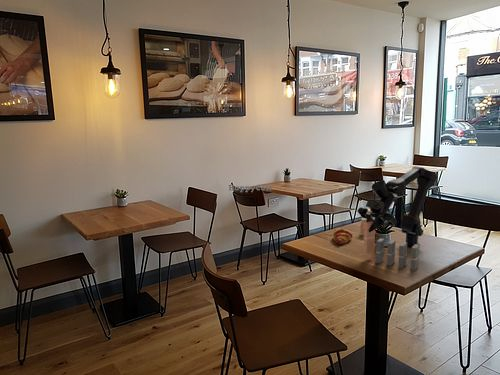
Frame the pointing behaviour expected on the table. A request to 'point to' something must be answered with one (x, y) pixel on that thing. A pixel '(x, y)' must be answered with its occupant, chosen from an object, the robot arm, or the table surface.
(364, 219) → the stack of blocks
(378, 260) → the domino
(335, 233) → the croissant
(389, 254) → the domino
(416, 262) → the domino
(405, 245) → the domino
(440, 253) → the table surface
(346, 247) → the table surface
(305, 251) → the table surface
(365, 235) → the domino
